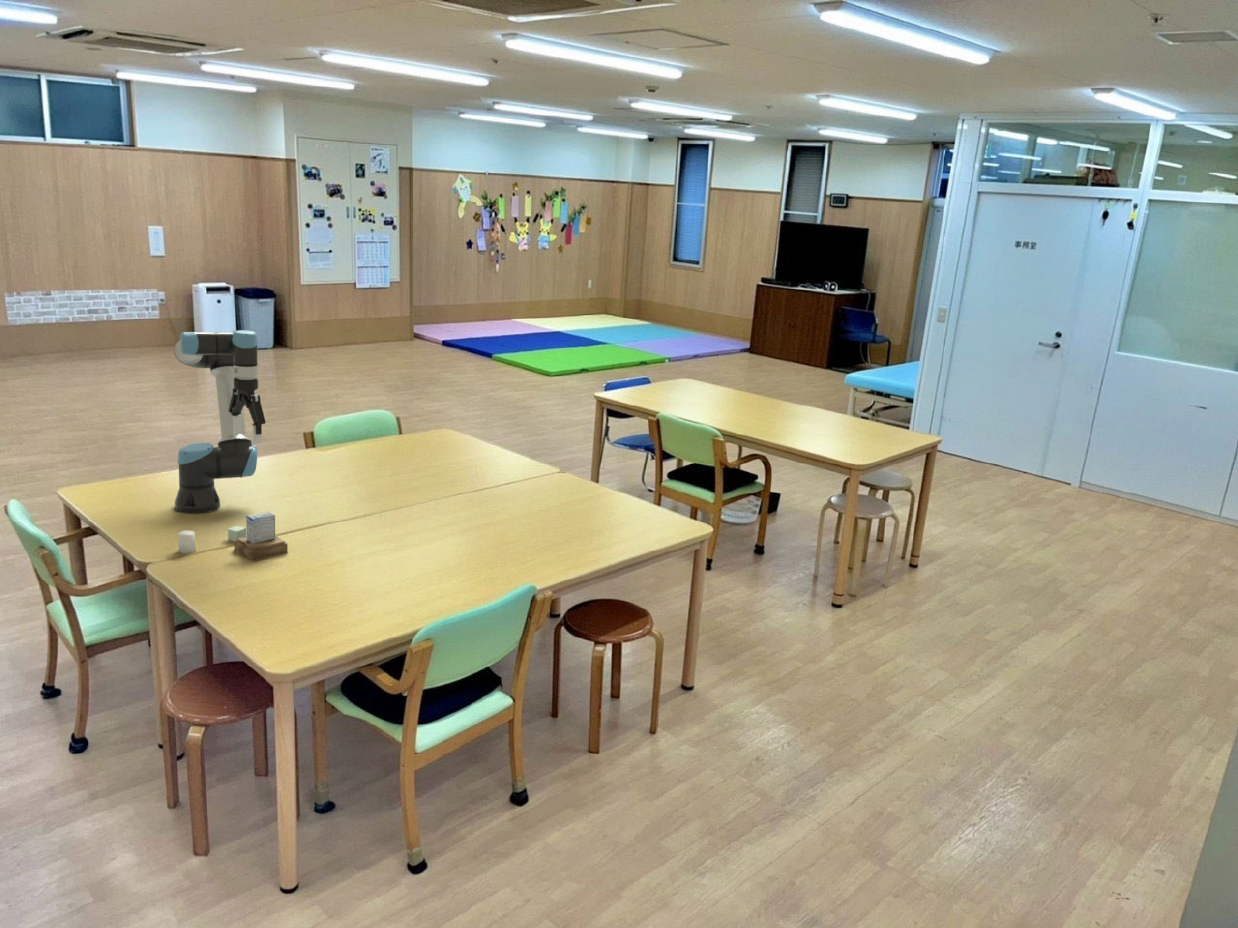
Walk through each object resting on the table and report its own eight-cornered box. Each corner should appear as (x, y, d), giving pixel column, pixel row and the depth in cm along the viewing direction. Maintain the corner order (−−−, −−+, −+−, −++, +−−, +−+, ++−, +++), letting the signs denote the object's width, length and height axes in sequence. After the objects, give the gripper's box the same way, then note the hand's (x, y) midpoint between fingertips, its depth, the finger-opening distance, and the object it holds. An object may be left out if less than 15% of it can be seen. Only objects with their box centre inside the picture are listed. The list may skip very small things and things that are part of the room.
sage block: (228, 539, 306) (227, 528, 305) (237, 536, 310) (237, 525, 309) (236, 542, 305) (236, 531, 304) (246, 539, 308) (246, 528, 307)
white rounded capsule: (175, 549, 294) (175, 532, 293) (191, 546, 298) (190, 529, 296) (182, 554, 291) (182, 537, 290) (198, 551, 295) (197, 533, 293)
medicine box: (268, 535, 303) (268, 510, 301) (275, 539, 300) (275, 514, 298) (246, 540, 297) (245, 515, 295) (253, 544, 294) (252, 519, 292)
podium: (234, 549, 299) (234, 538, 298) (268, 541, 308) (268, 530, 307) (253, 560, 292) (253, 549, 290) (287, 552, 300) (287, 541, 299)
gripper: (216, 371, 307) (218, 431, 313) (254, 385, 292) (255, 448, 298) (238, 369, 313) (239, 429, 319) (275, 383, 298) (276, 445, 304)
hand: (247, 438), depth 309 cm, fingers open, 13 cm apart
